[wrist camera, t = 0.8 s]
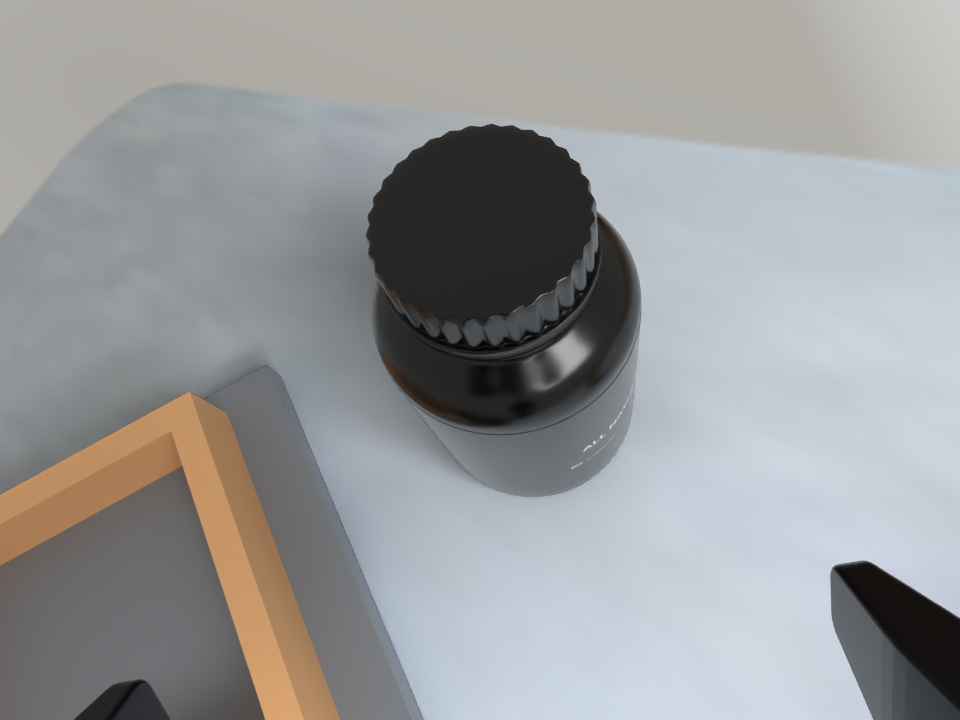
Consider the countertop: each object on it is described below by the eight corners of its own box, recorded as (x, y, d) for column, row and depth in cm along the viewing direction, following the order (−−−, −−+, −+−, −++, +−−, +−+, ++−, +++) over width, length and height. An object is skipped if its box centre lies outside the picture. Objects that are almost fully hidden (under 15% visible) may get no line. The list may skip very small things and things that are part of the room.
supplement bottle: (644, 494, 23) (669, 363, 12) (442, 506, 24) (301, 394, 14) (623, 307, 26) (629, 62, 15) (441, 325, 27) (322, 108, 16)
